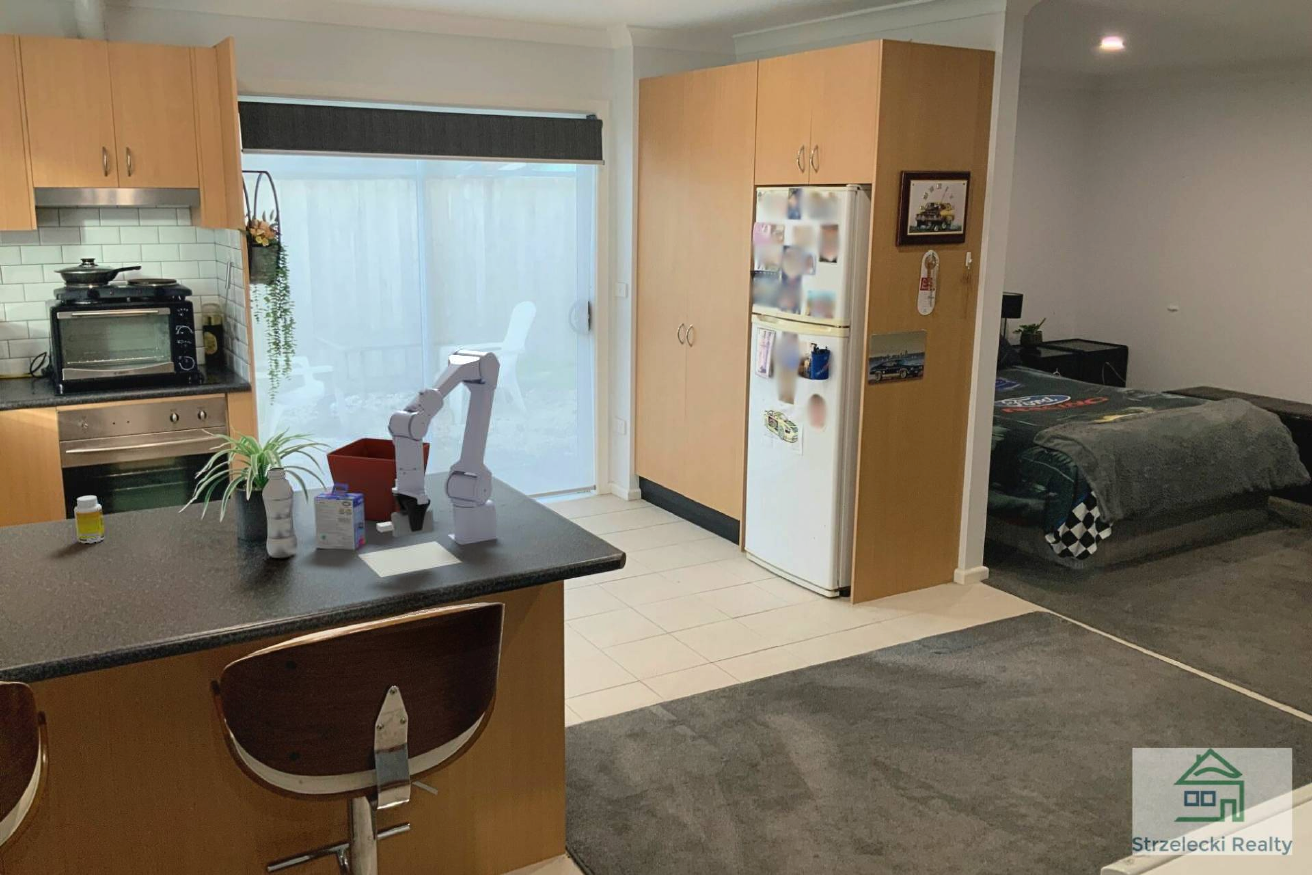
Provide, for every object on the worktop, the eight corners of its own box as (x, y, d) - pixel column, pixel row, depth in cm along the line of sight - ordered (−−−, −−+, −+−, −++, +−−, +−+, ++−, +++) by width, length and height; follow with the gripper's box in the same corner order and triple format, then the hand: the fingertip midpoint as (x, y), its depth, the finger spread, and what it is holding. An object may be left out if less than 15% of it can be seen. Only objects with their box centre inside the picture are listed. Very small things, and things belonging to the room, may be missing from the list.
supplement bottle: (108, 541, 242) (103, 498, 240) (81, 546, 239) (75, 502, 237) (102, 534, 247) (97, 492, 244) (75, 539, 243) (70, 497, 241)
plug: (429, 526, 231) (428, 506, 230) (436, 531, 228) (435, 511, 227) (376, 535, 225) (374, 515, 224) (382, 540, 222) (381, 520, 221)
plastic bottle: (305, 553, 235) (299, 467, 231) (282, 563, 229) (276, 474, 225) (283, 549, 238) (276, 463, 233) (260, 558, 232) (253, 471, 227)
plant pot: (434, 505, 272) (431, 441, 268) (400, 527, 254) (397, 460, 250) (366, 499, 276) (363, 437, 272) (328, 521, 258) (324, 454, 254)
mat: (435, 543, 243) (435, 541, 243) (462, 564, 230) (461, 562, 230) (358, 557, 234) (357, 554, 233) (380, 580, 220) (380, 577, 220)
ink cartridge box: (367, 544, 242) (364, 483, 239) (356, 552, 237) (352, 490, 234) (327, 541, 244) (324, 480, 241) (315, 548, 239) (311, 487, 235)
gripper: (380, 461, 228) (383, 521, 231) (403, 477, 216) (406, 540, 219) (411, 457, 232) (414, 516, 235) (436, 472, 220) (438, 534, 223)
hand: (412, 527), depth 227 cm, fingers closed on plug, 4 cm apart
